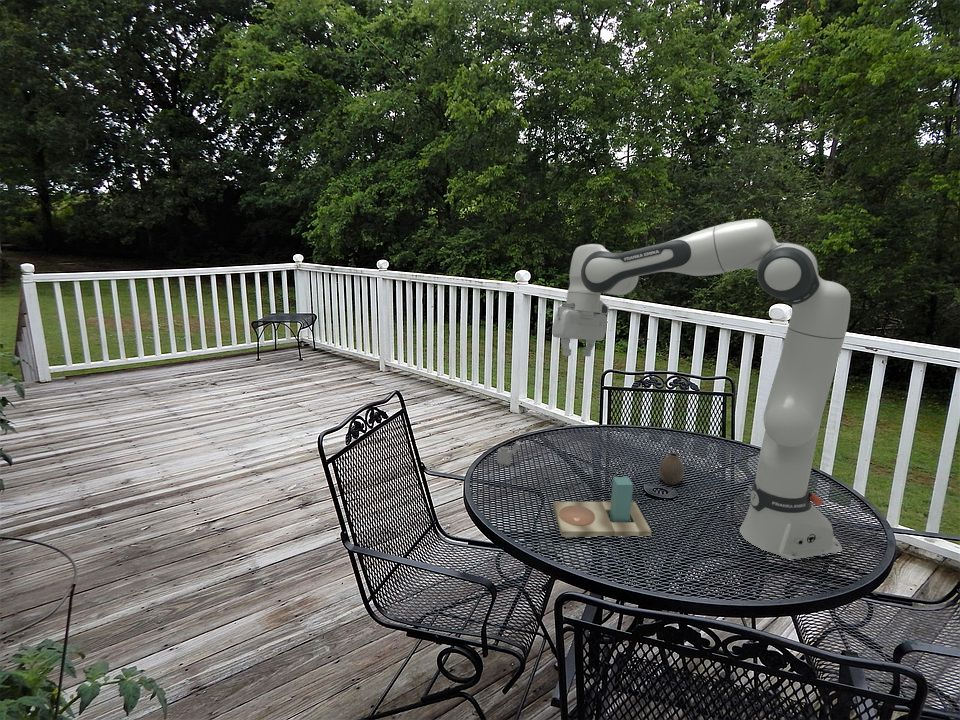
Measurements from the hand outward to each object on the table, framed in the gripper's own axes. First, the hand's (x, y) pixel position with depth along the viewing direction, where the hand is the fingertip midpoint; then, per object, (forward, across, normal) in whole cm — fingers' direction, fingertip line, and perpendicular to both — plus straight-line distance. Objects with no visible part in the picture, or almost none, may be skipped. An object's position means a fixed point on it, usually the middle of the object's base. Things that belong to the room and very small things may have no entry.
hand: (576, 356), depth 155 cm
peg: (+41, +2, -18) cm, 45 cm away
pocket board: (+41, -2, -14) cm, 44 cm away
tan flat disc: (+40, -7, -10) cm, 42 cm away
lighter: (+37, +5, +24) cm, 44 cm away
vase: (+35, +31, -16) cm, 50 cm away
